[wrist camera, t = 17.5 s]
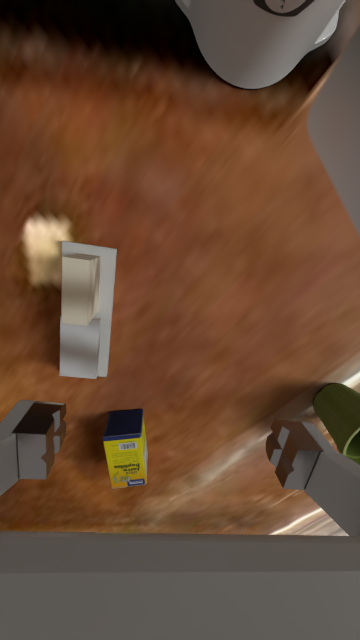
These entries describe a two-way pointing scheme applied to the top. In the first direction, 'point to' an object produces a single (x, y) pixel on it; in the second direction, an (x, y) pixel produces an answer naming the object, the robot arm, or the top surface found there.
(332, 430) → the plant pot
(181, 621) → the robot arm
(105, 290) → the rest mat
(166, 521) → the top surface
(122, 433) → the supplement box
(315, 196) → the top surface
